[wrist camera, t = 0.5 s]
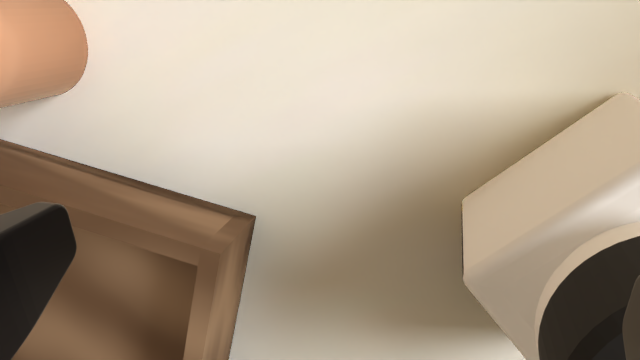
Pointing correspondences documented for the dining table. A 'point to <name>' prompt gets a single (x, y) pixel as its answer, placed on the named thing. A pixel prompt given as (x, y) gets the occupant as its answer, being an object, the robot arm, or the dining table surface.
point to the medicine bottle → (561, 238)
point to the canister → (39, 50)
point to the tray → (131, 265)
